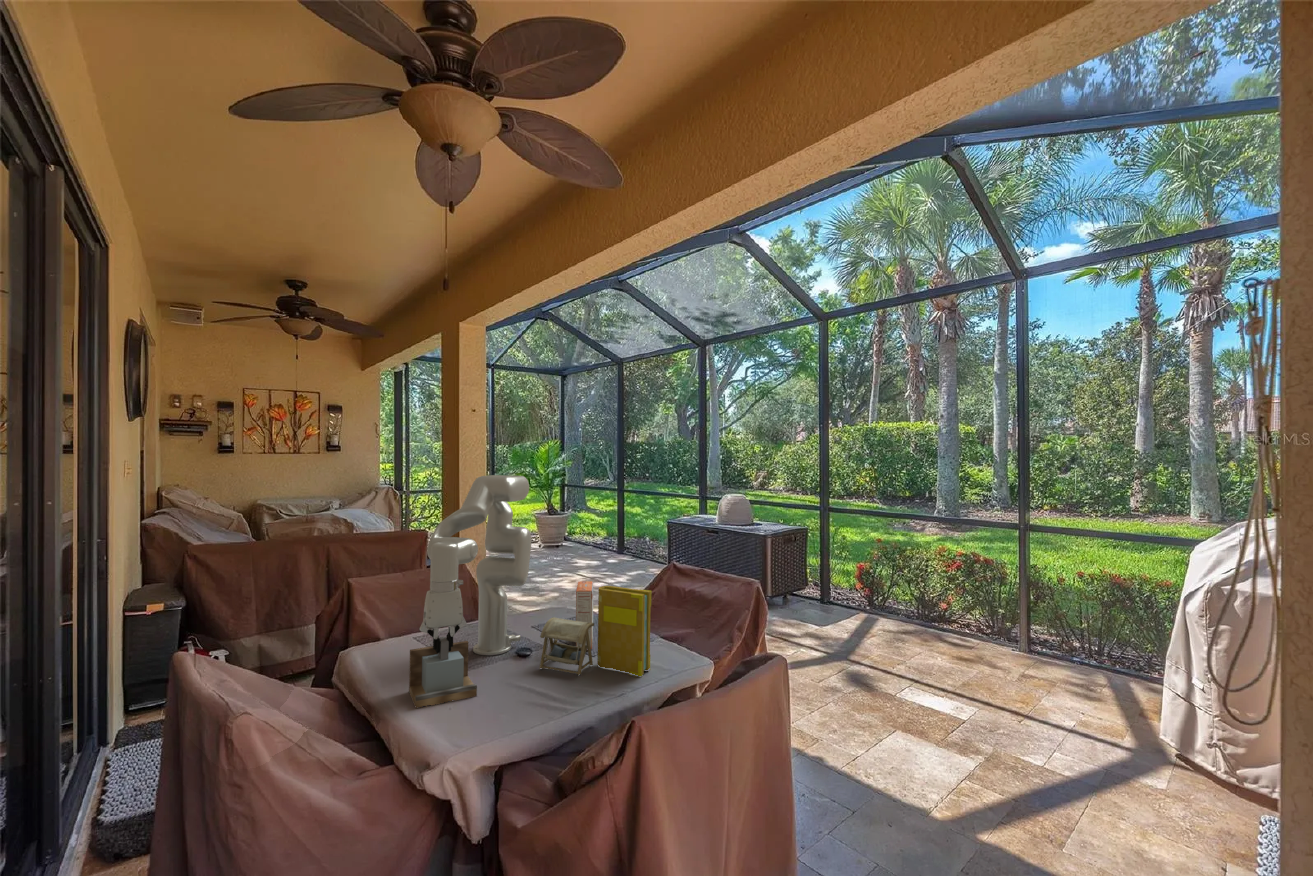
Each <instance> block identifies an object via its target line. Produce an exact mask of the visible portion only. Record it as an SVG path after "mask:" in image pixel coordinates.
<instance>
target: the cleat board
mask: <svg viewBox="0 0 1313 876" xmlns="http://www.w3.org/2000/svg"><path fill="white" fill-rule="evenodd" d="M453 651H459V652H460V654H461V655H462V656H463V658H464V677H463V686H462V687H457V688H452V689H447V690H442V691H437V692H431V693H425V691H424V689H423V687H422V657H423V656H429V655H435V654H438V653H437V652H436V651H435V650H434V649H433V645H432V646H425V647H419V648H412V649H409V669H408V671H409V675H408V676H409V677H408V678H409V679H408V680H409V681H408V683H409V684H408V685H409V686H408V693H409V692H410V693H409V695H410V697H412V698H411V699H412V702H414V703H413V704H414V707H415V706H416V707H415V709H418V708H417V707H421V708H423V707H422V706H426V707H428V706H427V705H431V706H434V705H435V704H436V705H440V703H441V704H445V703H449V702H448V701H450V702H453V701H452V700H455V701H458V700H459V701H460V700H464V699H469V698H474V697H477V696H478V694H477V693H478V685H477V683H473V681H472V680H471V678H470V677H469V641H468V640H461V641H458V642H457V641H456V642H453V647H451V651H449V652H453ZM444 702H445V703H444Z"/></svg>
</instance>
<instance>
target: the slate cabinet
mask: <svg viewBox="0 0 1313 876" xmlns="http://www.w3.org/2000/svg"><path fill="white" fill-rule="evenodd" d="M439 639H440V652H439V653H438V654H435V655H429V656H423V657H422V687H423V689H424V691H425V693H431V692H437V691H442V690H447V689H452V688H457V687H462V686H463V677H464V658H463V656H462V655H461V654H460V652H459V651H453V652H449V641H448V640H447V639H446V636H441V637H440V636H439Z"/></svg>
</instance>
